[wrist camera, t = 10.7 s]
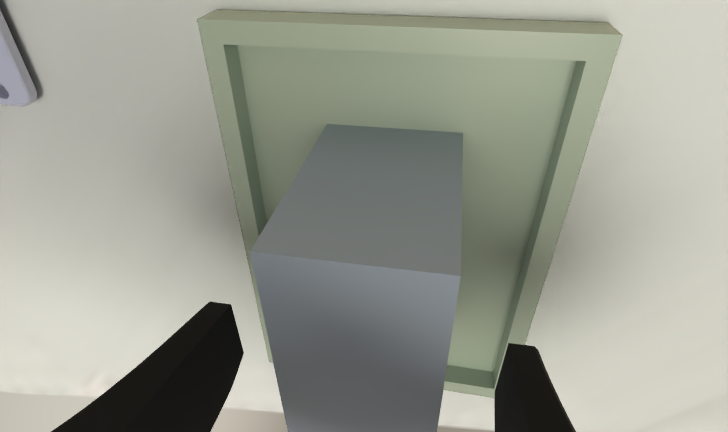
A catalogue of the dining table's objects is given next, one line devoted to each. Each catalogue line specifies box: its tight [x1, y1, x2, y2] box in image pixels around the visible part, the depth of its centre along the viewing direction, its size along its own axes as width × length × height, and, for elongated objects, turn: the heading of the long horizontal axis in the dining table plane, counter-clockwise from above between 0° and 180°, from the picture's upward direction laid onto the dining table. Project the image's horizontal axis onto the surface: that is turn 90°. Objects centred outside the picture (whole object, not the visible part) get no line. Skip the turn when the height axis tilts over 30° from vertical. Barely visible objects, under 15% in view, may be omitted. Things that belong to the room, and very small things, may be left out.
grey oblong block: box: [250, 124, 463, 432], centre depth 13 cm, size 4×9×6 cm, turn 1°
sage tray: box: [197, 10, 622, 398], centre depth 15 cm, size 10×14×1 cm
